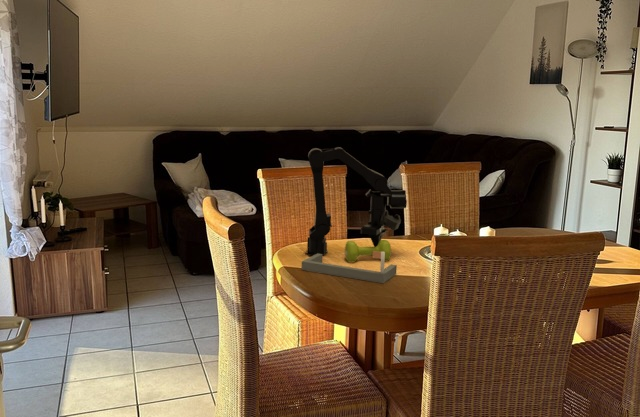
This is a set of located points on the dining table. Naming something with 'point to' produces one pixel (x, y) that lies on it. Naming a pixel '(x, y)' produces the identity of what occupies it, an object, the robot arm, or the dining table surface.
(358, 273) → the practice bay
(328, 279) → the dining table surface
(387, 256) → the dumbbell
